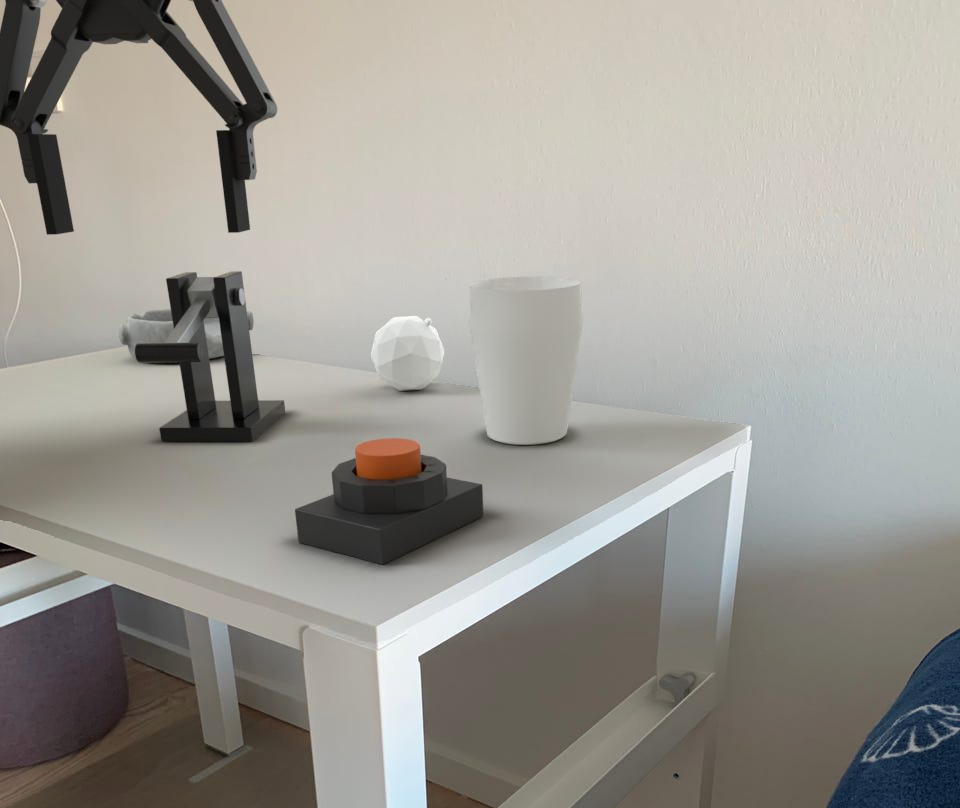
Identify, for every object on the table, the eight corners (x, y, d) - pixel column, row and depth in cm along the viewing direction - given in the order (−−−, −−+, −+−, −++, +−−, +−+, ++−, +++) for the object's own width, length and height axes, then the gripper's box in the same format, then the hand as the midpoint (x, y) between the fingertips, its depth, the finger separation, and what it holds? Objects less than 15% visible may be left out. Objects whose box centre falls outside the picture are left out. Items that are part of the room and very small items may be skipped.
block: (383, 565, 58) (378, 499, 57) (298, 542, 62) (290, 480, 60) (483, 516, 65) (482, 456, 64) (402, 498, 69) (398, 442, 67)
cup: (456, 445, 81) (450, 290, 76) (493, 418, 89) (490, 275, 83) (564, 453, 78) (565, 291, 73) (593, 424, 86) (596, 276, 80)
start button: (392, 487, 60) (390, 459, 59) (343, 477, 62) (341, 449, 61) (434, 471, 63) (433, 443, 62) (386, 461, 65) (384, 435, 64)
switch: (202, 371, 77) (194, 341, 75) (139, 371, 78) (130, 342, 76) (244, 303, 86) (237, 275, 84) (188, 304, 86) (180, 277, 85)
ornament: (415, 376, 106) (455, 315, 101) (423, 416, 101) (466, 354, 96) (356, 348, 102) (394, 283, 98) (361, 388, 97) (402, 322, 93)
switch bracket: (252, 441, 84) (231, 281, 79) (161, 441, 85) (133, 283, 79) (285, 413, 93) (268, 267, 87) (202, 413, 94) (180, 268, 88)
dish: (265, 344, 127) (260, 303, 124) (215, 366, 115) (209, 321, 112) (162, 343, 130) (155, 303, 128) (102, 364, 118) (94, 320, 115)
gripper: (301, -122, 66) (328, 226, 75) (-56, -105, 68) (14, 229, 78) (267, -152, 59) (302, 234, 69) (-126, -132, 62) (-41, 238, 71)
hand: (149, 232), depth 73 cm, fingers open, 13 cm apart
